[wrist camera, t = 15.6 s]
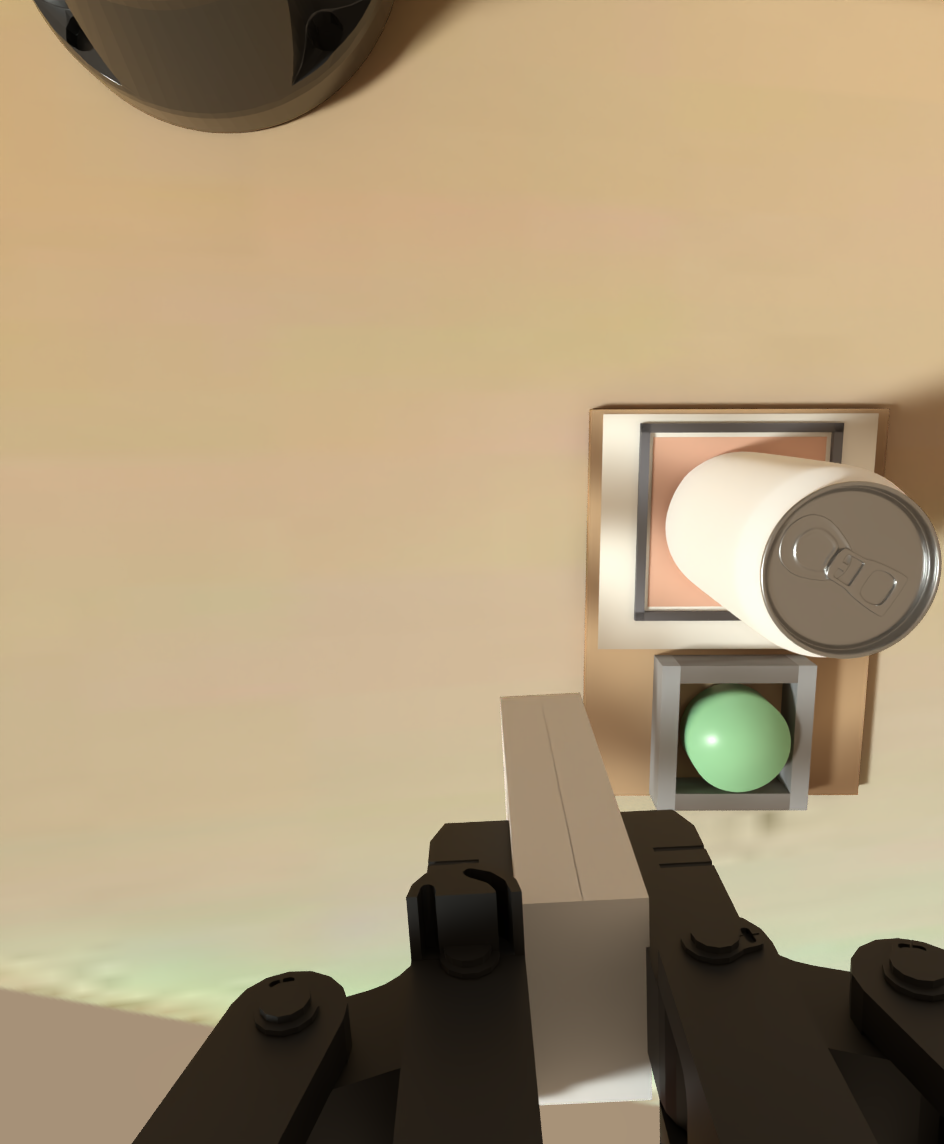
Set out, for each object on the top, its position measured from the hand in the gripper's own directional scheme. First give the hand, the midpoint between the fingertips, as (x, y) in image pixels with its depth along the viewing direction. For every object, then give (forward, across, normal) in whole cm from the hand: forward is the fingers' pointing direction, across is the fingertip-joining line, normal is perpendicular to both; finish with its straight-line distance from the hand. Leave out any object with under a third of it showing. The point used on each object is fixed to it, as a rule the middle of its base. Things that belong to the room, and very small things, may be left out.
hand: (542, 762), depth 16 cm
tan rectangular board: (+24, +10, -4) cm, 26 cm away
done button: (+22, +10, -9) cm, 26 cm away
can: (+23, +10, 0) cm, 25 cm away
